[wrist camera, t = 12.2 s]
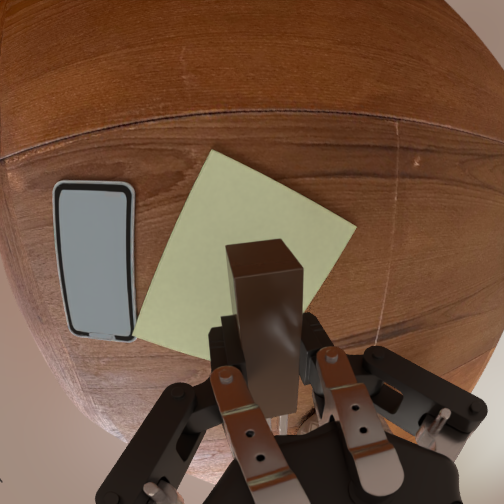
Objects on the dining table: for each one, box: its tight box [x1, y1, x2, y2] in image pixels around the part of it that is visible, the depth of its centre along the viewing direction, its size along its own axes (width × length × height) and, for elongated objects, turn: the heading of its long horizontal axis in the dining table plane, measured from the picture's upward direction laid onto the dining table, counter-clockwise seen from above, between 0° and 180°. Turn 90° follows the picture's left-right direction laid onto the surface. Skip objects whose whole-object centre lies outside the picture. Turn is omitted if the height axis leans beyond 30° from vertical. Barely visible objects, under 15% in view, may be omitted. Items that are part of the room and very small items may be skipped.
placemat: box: [132, 149, 357, 361], centre depth 25 cm, size 18×14×1 cm
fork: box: [225, 238, 304, 435], centre depth 15 cm, size 15×3×3 cm, turn 4°
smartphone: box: [53, 180, 137, 343], centre depth 22 cm, size 7×1×15 cm
